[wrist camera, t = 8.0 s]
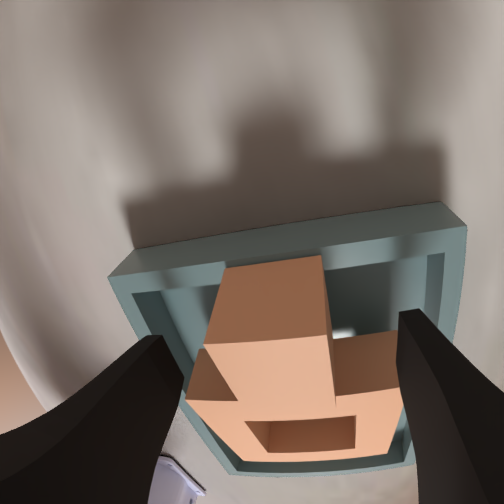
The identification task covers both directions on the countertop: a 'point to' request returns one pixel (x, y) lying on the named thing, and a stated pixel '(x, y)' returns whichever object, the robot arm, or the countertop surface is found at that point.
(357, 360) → the collar
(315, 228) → the tray
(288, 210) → the countertop surface
